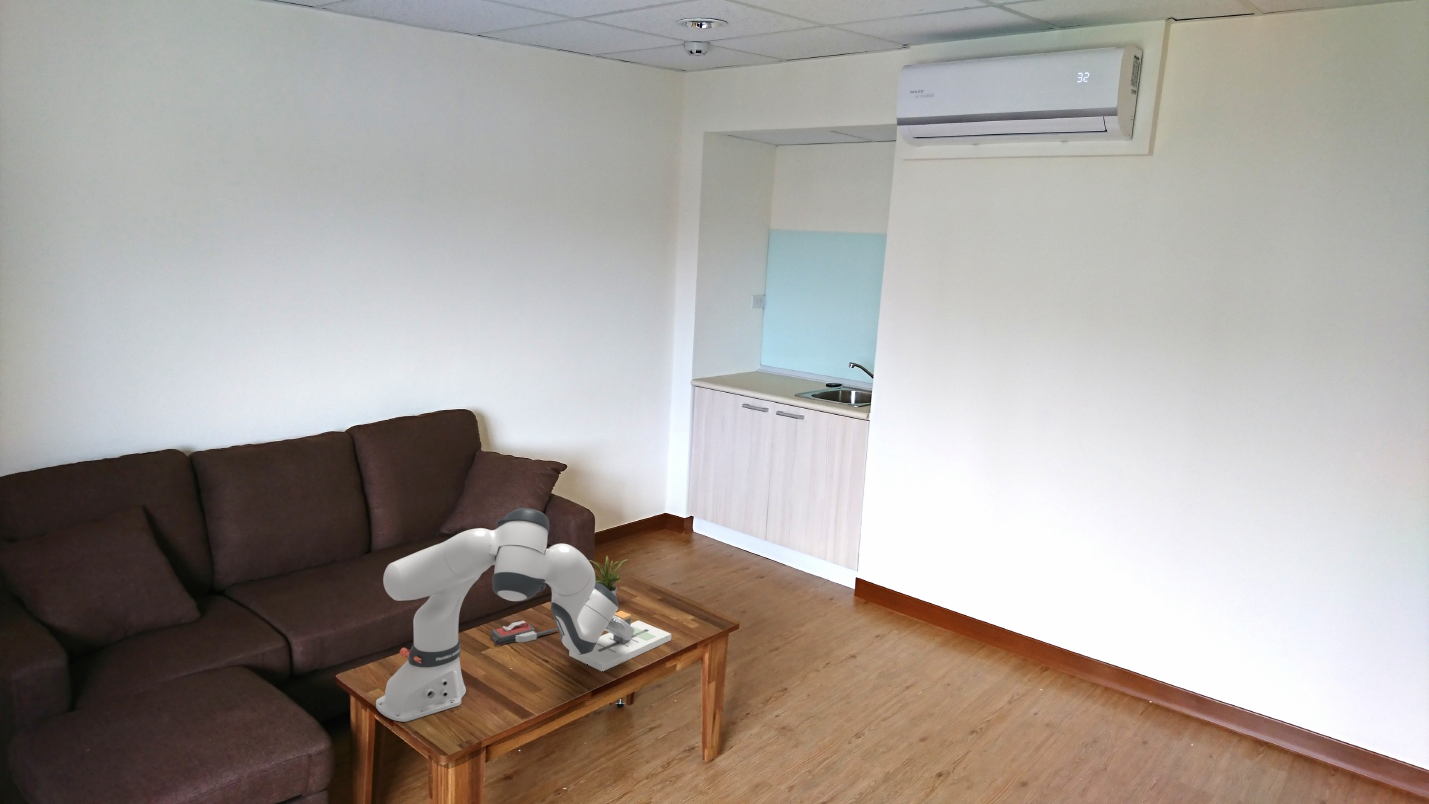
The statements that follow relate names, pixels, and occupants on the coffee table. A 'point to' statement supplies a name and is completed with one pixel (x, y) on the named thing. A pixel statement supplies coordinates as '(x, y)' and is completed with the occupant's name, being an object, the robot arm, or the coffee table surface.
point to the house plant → (607, 580)
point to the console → (623, 646)
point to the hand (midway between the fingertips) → (617, 633)
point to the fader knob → (627, 619)
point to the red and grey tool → (517, 633)
